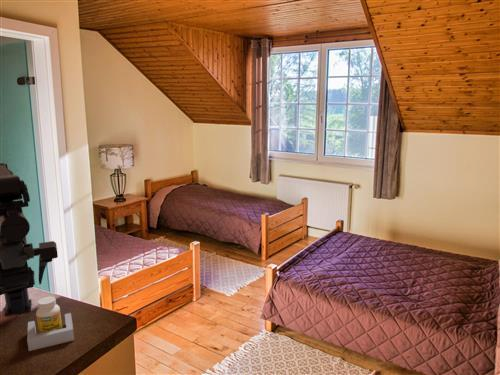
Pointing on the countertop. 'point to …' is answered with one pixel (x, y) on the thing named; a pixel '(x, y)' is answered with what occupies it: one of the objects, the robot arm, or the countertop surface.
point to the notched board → (49, 335)
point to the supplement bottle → (48, 315)
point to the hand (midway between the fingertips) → (19, 287)
